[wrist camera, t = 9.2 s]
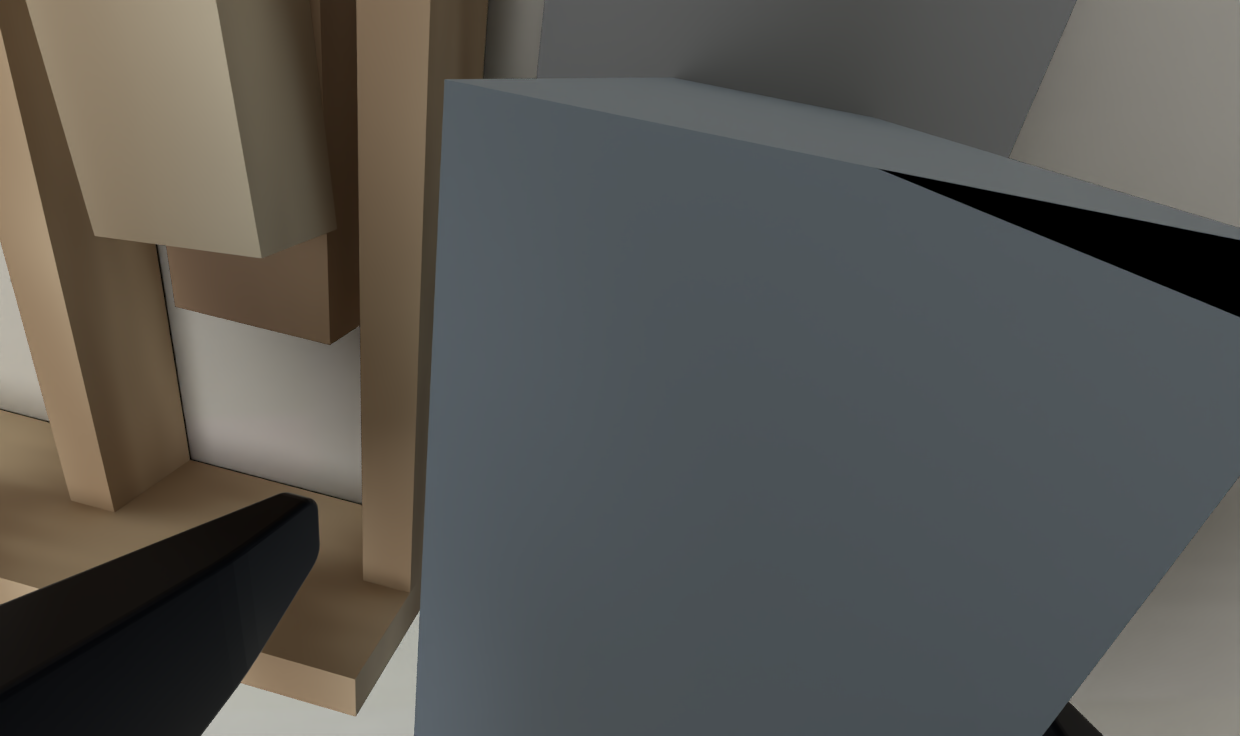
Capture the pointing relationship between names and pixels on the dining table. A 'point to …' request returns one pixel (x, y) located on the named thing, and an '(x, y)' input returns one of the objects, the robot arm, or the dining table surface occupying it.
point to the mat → (828, 54)
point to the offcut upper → (192, 119)
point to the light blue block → (797, 419)
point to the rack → (146, 376)
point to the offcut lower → (318, 268)
